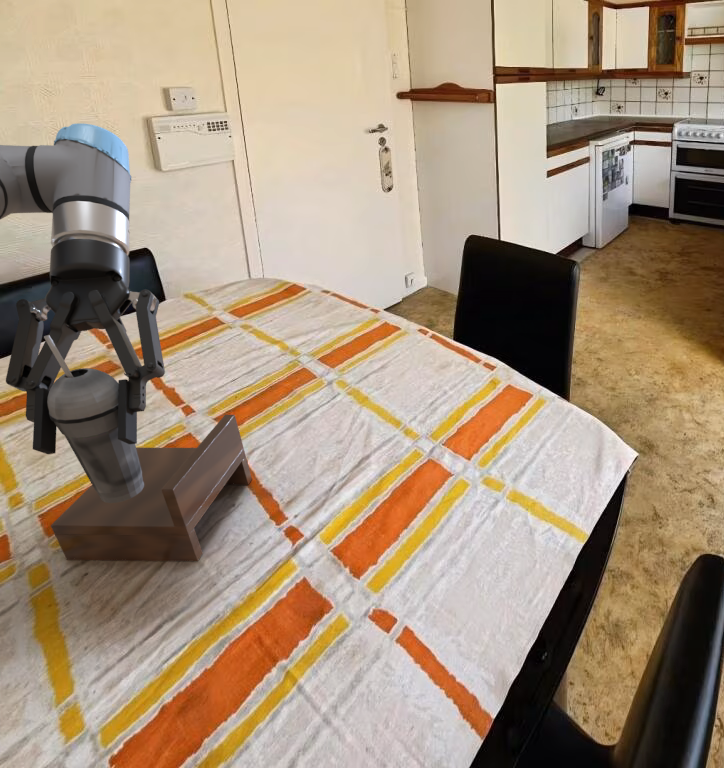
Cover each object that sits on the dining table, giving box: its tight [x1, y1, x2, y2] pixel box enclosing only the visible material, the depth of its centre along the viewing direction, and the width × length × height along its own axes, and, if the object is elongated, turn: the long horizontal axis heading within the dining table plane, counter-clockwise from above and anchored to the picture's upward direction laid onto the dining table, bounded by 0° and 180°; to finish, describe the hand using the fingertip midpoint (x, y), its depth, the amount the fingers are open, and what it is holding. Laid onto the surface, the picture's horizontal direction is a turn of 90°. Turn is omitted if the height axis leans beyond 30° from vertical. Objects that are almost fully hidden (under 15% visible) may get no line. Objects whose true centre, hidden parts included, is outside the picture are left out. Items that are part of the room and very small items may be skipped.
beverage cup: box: [43, 334, 144, 503], centre depth 68 cm, size 7×7×20 cm
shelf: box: [50, 414, 253, 562], centre depth 88 cm, size 18×18×12 cm
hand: (86, 446), depth 65 cm, fingers closed on beverage cup, 7 cm apart
